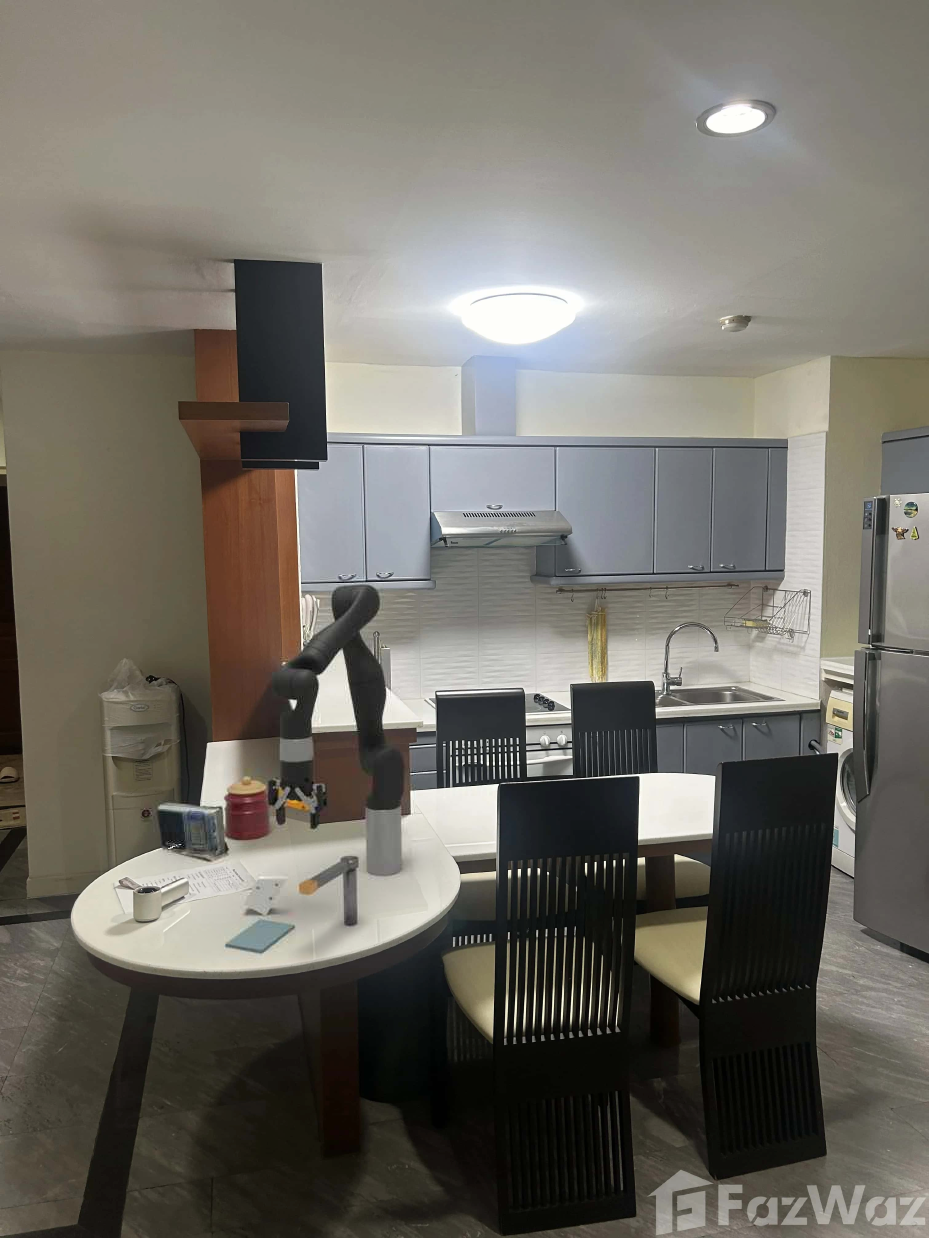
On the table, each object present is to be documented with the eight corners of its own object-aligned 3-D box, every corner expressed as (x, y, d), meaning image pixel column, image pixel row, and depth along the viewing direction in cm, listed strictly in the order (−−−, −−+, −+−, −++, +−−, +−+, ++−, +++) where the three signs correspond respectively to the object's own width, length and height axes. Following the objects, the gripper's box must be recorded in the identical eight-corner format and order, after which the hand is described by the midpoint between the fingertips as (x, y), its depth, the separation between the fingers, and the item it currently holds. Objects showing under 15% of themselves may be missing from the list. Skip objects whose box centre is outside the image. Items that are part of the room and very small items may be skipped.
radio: (154, 849, 247) (152, 799, 246) (179, 841, 254) (178, 792, 253) (205, 866, 234) (203, 813, 233) (230, 857, 241) (229, 805, 240)
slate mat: (260, 922, 199) (260, 919, 199) (294, 928, 196) (294, 924, 196) (225, 947, 187) (225, 943, 187) (261, 953, 184) (261, 950, 183)
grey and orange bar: (347, 862, 200) (346, 854, 199) (362, 865, 198) (361, 856, 198) (296, 892, 183) (295, 883, 182) (312, 895, 181) (311, 886, 181)
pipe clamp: (316, 809, 284) (315, 789, 284) (306, 813, 281) (306, 793, 280) (288, 803, 291) (288, 784, 290) (279, 807, 287) (278, 787, 287)
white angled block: (287, 915, 203) (286, 878, 202) (244, 916, 202) (242, 879, 201) (290, 908, 206) (289, 872, 205) (247, 909, 206) (246, 873, 205)
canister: (277, 829, 264) (275, 771, 263) (260, 843, 252) (258, 783, 250) (236, 827, 267) (235, 769, 265) (217, 841, 254) (215, 781, 252)
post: (347, 919, 200) (346, 864, 199) (359, 921, 199) (358, 866, 198) (341, 924, 197) (340, 869, 196) (353, 926, 196) (352, 870, 195)
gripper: (260, 757, 199) (262, 827, 200) (315, 762, 194) (317, 834, 195) (278, 750, 206) (280, 818, 207) (332, 755, 201) (333, 824, 202)
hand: (298, 826), depth 201 cm, fingers open, 8 cm apart
